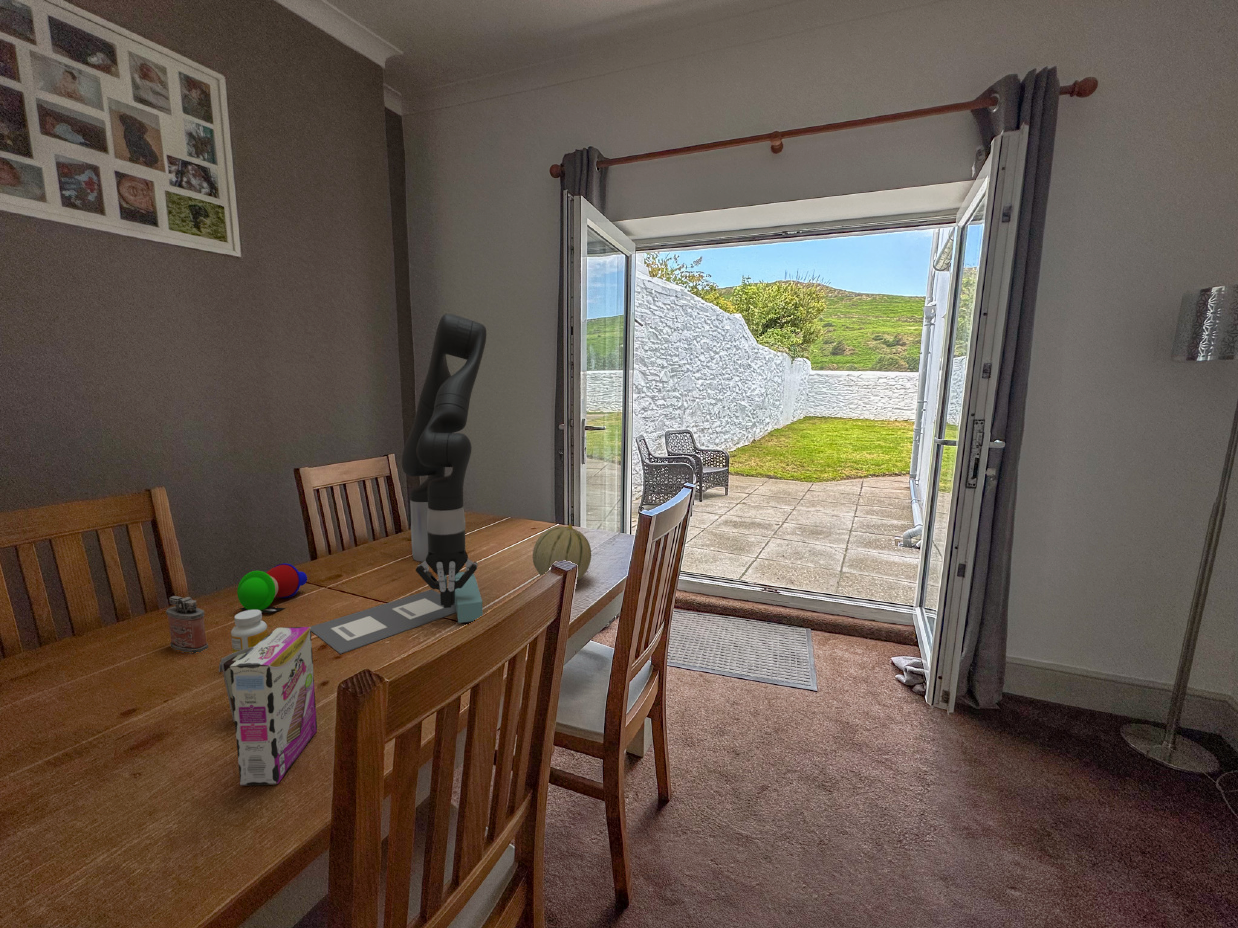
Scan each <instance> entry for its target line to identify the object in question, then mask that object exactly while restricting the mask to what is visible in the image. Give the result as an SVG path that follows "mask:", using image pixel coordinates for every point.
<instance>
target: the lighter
mask: <svg viewBox="0 0 1238 928" xmlns="http://www.w3.org/2000/svg"><path fill="white" fill-rule="evenodd" d="M169 604H170V605H173V606H172V607H168V608H167V609H166V610H165V613H166V615H167V619H168V626H169V635H170V642H169V643H170V645H169V646H171V647H172V648H174V649H176V650H180V651H183V652H182V653H184V652H191V653H190V654H192V652H193V653H196V652H201V651H203V650H205V649H207V648H208V649H209V643H208V642H207V636H206V627H205V620H204V619H205V618H204V616H205V615H206V614H205V610H203V609H201V608H199V607H197V600H194V599H193V598H192V597H190V596H186V597H182V596H177V595H173V596H170V597H169ZM171 647H170V648H171ZM172 648H171V649H172ZM174 649H173V650H174ZM208 649H207V650H208ZM176 650H175V651H176ZM201 653H202V652H201ZM196 654H197V653H196Z"/></svg>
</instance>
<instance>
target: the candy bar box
mask: <svg viewBox="0 0 1238 928" xmlns="http://www.w3.org/2000/svg"><path fill="white" fill-rule="evenodd" d="M312 645H313V643H312V632H311V626H295V627H294V626H293V627H291V626H290V627H289V626H288V627H276V628H275V629H274V630H272V631H271V632H270V633H268V636H267V637H265V638H264V639H263V640H262V641H261V642H259V643H258V644H257V645H256V646H254V647H253V648H252V649H251V650H249V651H248V652H247V653H246V654H244V655H243V656H242V657H241V658H239V659H238V660H237V661H236V662H234V663H233V664H232V665H231V666H230V672H231V684H232V695H233V707H234V719H235V722H234V727H235V739H236V748H237V749H236V750H237V763H238V772H239V773H238V775H239V785H240V786H243V787H244V786H247V787H248V786H270V785H272V786H274V785H279V783H280V782H281V781H282V779H283V777H284V776H285V775H286V773H287V772H288V771H289V769H290V768H291V767H292V765H294V763H295V761H296V760H297V759H298V757H299V756H300V755H301V753H302V752H303V751H304V749H305V748H306V746H307V745H308V744H309V742H310V741H311V740H312V738H313V737H314V735H315V734H317V731H318V721H317V709H316V693H315V691H316V690H315V677H314V676H315V675H314V658H313V646H312Z"/></svg>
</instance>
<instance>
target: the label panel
mask: <svg viewBox="0 0 1238 928" xmlns="http://www.w3.org/2000/svg"><path fill="white" fill-rule="evenodd" d="M454 614H457V612H456V606H455V602H454V605H452V606H451V608H444V605H441V599H440V592H438V591H435V589H432V588H431V589H427V590H425V591H421V592H419V593H415V594H411V595H408V596H405V597H402V598H399V599H396V600H393V601H390V602H387V603H382V604H379V605H376V606H373V607H370V608H367V609H363V610H360V611H357V612H353V613H351V614H347V615H344V616H340V617H337V618H333V619H330V620H328V621H325V622H322V623H321V622H320V623H317V624H315V625H311V626H310V627H311V633H313V634H314V635H315V636H317V638H319V639H320V640H321V641H323V642H324V643H326V645H328V647H331V648H332V649H334V651H336V652H337V653H338V654H340V655H342V653H343V654H346V653H347V652H348V653H349V652H351V651H353V650H356V649H359V648H362V647H365V646H367V645H370V644H373V643H375V642H376V643H377V642H379V641H382V640H384V639H385V640H386V639H388V638H389V637H394V636H395V635H398V634H401V633H404V632H406V631H410V630H412V629H414V628H415V629H416V628H417V627H421V626H423V625H426V624H429V623H432V622H434V621H437V620H439V619H443V618H446V617H449V616H452V615H454ZM345 652H346V653H345Z"/></svg>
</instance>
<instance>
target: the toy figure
mask: <svg viewBox="0 0 1238 928" xmlns="http://www.w3.org/2000/svg"><path fill="white" fill-rule="evenodd" d="M307 581H308V575H307V574H306V573H305V572H304V571H299V570H298V568H296V567H295V566H294V565H292V564H291V563H280V564H277V565H274V566H273V567H272V568H271V569H268V571H266V572H265V571H262V570H253V571H250V572H248V573H246V574H245V575H243V576H242V578H241V579H240V581H239V583H238V586H237V588H236V589H237V590H236V591H237V593H236V594H237V598H238V602H239V603H240V605H241V606H242V607H241V608H238V610H240V611H247V610H260V611H261V613H267V614H271V613H275V612H278V611H282V610H285V609H287V607H277V608H275V606H271V604H273V603H272V602H273V601H274V599H275V598H279V599H289V598H291V597H293V596H295V595H296V594H298V591H299V590H300V588H301V586H304V585H306V584H307Z"/></svg>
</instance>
